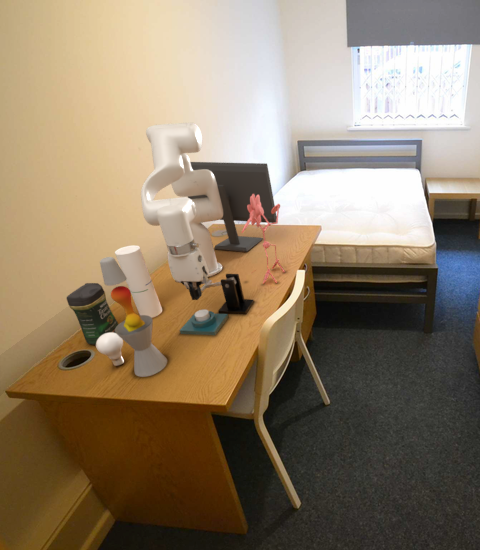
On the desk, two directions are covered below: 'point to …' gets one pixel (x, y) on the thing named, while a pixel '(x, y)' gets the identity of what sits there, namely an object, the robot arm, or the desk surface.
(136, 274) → the cylindrical container
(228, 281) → the lever bracket
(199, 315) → the flush button
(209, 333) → the plate
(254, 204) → the figurine
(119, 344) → the lightbulb
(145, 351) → the lava lamp
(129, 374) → the desk surface
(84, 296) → the coffee jar
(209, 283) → the flush lever
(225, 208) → the computer monitor
